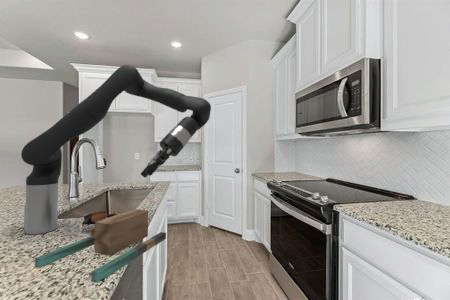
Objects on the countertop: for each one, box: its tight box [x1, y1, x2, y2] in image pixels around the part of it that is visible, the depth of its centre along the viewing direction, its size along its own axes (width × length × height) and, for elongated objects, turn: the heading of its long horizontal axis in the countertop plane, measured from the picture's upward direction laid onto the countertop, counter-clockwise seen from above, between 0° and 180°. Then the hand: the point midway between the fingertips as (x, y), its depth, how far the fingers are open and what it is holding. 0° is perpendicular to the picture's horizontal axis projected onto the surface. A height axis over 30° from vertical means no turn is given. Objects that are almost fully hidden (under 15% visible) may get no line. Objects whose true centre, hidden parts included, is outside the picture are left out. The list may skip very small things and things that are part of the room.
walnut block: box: [94, 208, 149, 257], centre depth 71 cm, size 6×16×9 cm, turn 160°
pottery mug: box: [81, 210, 118, 236], centre depth 83 cm, size 12×10×8 cm
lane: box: [34, 231, 167, 283], centre depth 66 cm, size 21×27×2 cm
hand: (145, 175), depth 73 cm, fingers open, 8 cm apart
